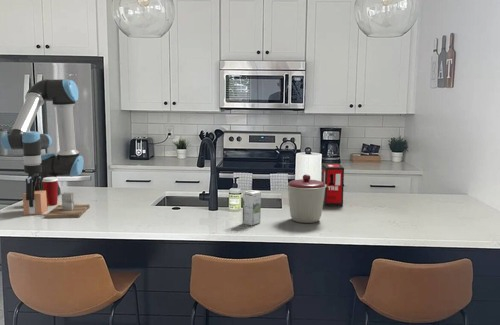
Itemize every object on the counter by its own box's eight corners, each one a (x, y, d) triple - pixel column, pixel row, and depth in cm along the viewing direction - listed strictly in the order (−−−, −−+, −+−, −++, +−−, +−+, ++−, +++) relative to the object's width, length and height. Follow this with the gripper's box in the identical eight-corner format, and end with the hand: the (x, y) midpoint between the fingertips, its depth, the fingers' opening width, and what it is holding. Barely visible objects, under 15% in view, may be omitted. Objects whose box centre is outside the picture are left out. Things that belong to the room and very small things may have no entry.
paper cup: (62, 203, 240) (60, 176, 238) (54, 206, 233) (53, 179, 231) (48, 202, 241) (46, 176, 239) (40, 206, 233) (38, 179, 231)
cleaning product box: (321, 199, 252) (322, 163, 249) (337, 199, 252) (338, 163, 249) (325, 206, 235) (326, 167, 233) (342, 206, 235) (344, 167, 233)
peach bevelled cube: (30, 210, 223) (28, 190, 222) (47, 210, 224) (46, 190, 223) (23, 215, 215) (22, 194, 214) (41, 214, 216) (40, 193, 215)
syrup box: (250, 221, 206) (250, 189, 204) (260, 223, 202) (261, 191, 200) (242, 223, 202) (242, 191, 200) (252, 226, 198) (252, 193, 196)
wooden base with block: (58, 207, 229) (57, 189, 228) (89, 207, 231) (88, 188, 230) (45, 218, 210) (44, 197, 208) (79, 217, 211) (78, 197, 210)
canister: (284, 225, 200) (285, 177, 197) (286, 214, 218) (287, 170, 215) (326, 226, 198) (327, 178, 195) (325, 216, 215) (326, 171, 212)
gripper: (32, 161, 226) (35, 206, 229) (15, 167, 206) (19, 217, 209) (48, 161, 227) (50, 206, 230) (33, 167, 207) (36, 216, 210)
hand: (35, 211), depth 220 cm, fingers closed on peach bevelled cube, 8 cm apart
